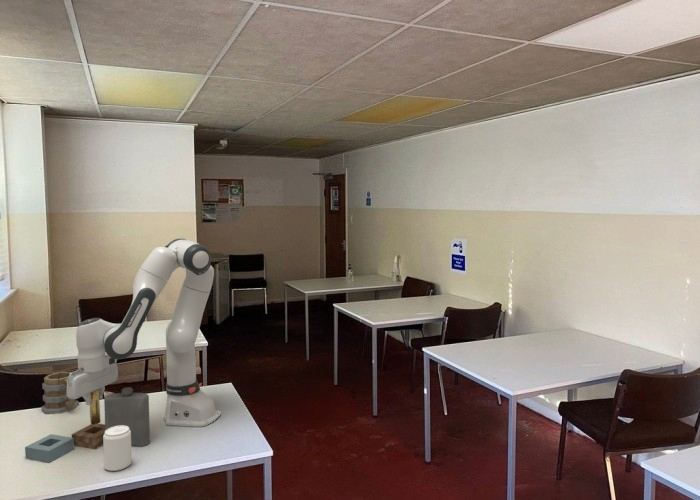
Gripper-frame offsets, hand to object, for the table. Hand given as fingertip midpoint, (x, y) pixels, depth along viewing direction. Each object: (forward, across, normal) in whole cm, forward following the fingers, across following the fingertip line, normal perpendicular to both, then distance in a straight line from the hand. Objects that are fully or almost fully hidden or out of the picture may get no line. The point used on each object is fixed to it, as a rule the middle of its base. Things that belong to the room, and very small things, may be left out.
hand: (94, 401), depth 176 cm
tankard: (+14, +18, +34) cm, 42 cm away
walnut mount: (+14, -1, 0) cm, 14 cm away
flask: (+15, +1, -12) cm, 19 cm away
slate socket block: (+14, -13, +7) cm, 20 cm away
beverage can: (+15, -12, -20) cm, 28 cm away
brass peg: (+8, 0, 0) cm, 8 cm away
